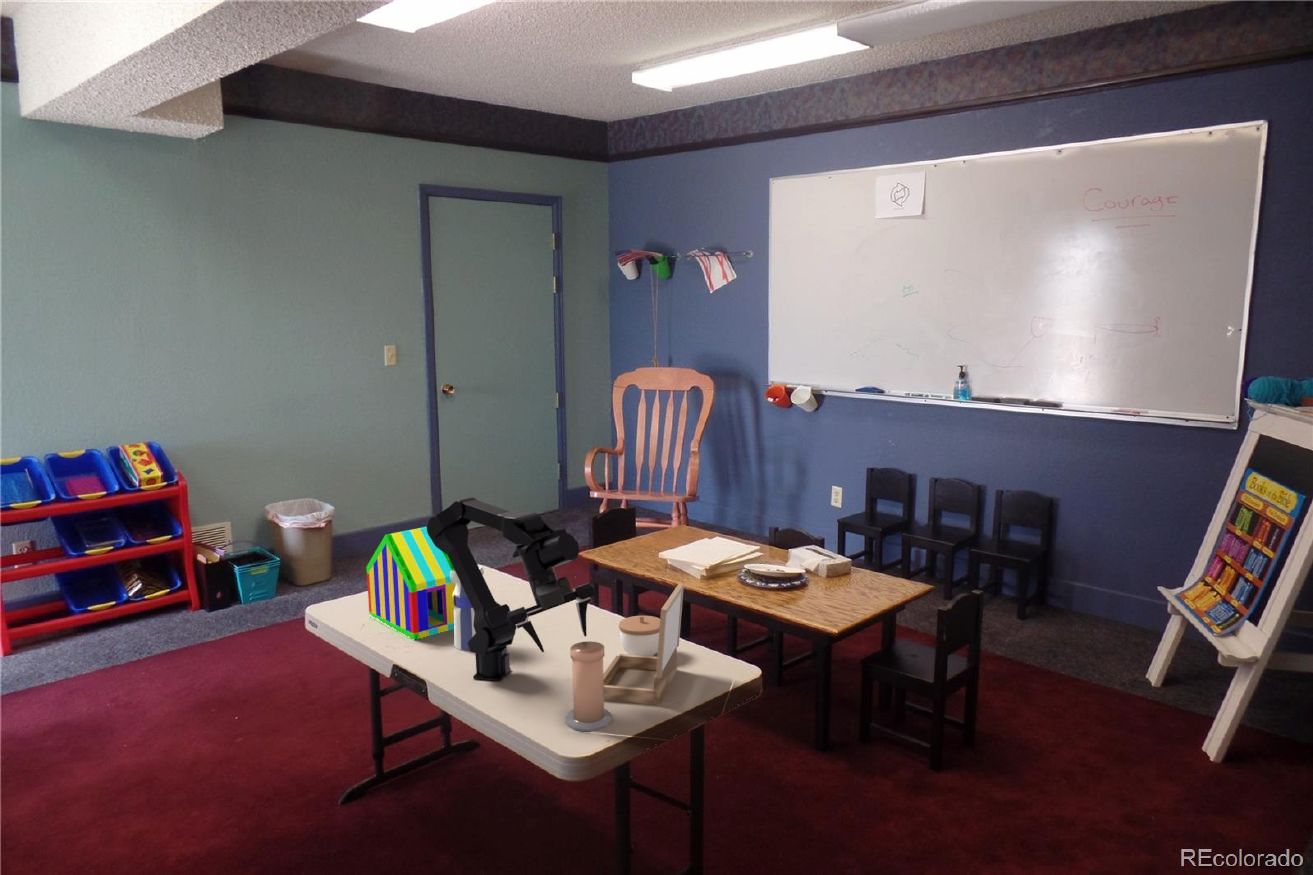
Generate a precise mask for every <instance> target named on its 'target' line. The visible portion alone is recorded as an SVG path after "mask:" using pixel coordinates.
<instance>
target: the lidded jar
mask: <svg viewBox="0 0 1313 875" xmlns="http://www.w3.org/2000/svg"><path fill="white" fill-rule="evenodd" d="M618 629H619V640H620V644H621V646H622V648H623V650H624V652H626V653H627V655H640V656H653V657H655V656H656V654H658V642H659V629H660V618H659V617H656V616H652V615H635V616H629V617H625V618H623V619H621V620H620V621H619V623H618Z"/></svg>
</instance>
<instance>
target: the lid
mask: <svg viewBox="0 0 1313 875" xmlns="http://www.w3.org/2000/svg"><path fill="white" fill-rule="evenodd" d="M684 585H685V584H684V583H681V582H679V583H678V584H677V586H675V588H674V590H673V591H672V593H671V594H670V596H669V597H668V599H667V600H666V602H665V603H664V605H663V606H662V607H661V609H660V629H659V642H658V652H657V656H656V657H657V669H656V678H661V677H662V671H663V669H664V668H665V666H666V664H667V662H668V660H669V659H670V657H671V655H672V653H673V652H674V650H675V648H676V647H677V648H678V647H679V646H680V637H681V624H682V622H681V621H682V611H683V600H684V599H683V598H684V597H683V596H684V588H685V586H684Z"/></svg>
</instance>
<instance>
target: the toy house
mask: <svg viewBox="0 0 1313 875" xmlns="http://www.w3.org/2000/svg"><path fill="white" fill-rule="evenodd" d="M450 571H455V570H454V568H453V566H452V563H451V561H450V559H449V557H448V555H447V554H445V553H444V552H443V551H441V550H440V549H438V548H437V547H436V546H435V545H434V543H433V542H432V540H431V538H430V537H429V535H428V533H427V526H422V527H418V528H413V529H409V530H402V531H398V532H392V533H388V534H385V535H384V537H383V538H382V540H381V542H380V544H379V545H378V547H377V548H376V550H375V551H374V553H373V555H372V557H371V559H370V560H369V562H368V564H367V565H366V582H367V598H368V614H371V615H372V616H373V617H375V618H378V619H379V620H380V621H382V622H383V623H386V624H387V625H389V626H390V627H393V628H394V629H396V630H397V631H399V632H401V633H403V634H405V635H406V636H409V637H410V638H412V639H414V640H413V641H416V640H417V639H418V640H420V639H419V638H421V637H425V636H428V637H432V636H435V635H438V634H437V633H439V634H441V633H440V632H442V633H445V632H444V631H446V632H449V631H452V629H453V630H454V608H455V607H454V606H453V605H452V595H453V592H454V590H455V586H456V583H452V581H451V579H450ZM397 631H396V632H397ZM434 634H435V635H434ZM431 635H432V636H431ZM406 636H405V637H406ZM416 637H417V638H416ZM410 638H409V639H410ZM425 638H426V637H425ZM412 639H411V640H412ZM415 639H416V640H415ZM421 639H422V638H421Z"/></svg>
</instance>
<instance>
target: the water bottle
mask: <svg viewBox="0 0 1313 875" xmlns="http://www.w3.org/2000/svg"><path fill="white" fill-rule="evenodd" d="M477 565H478V567H479V569H480V571H481V573H482V575H483V576H484V573H485V572H484V567H483V565H481V564H478V563H477ZM450 579H451V581H452V583H456V586H455V590H454V592H453V595H452V605H453V606H454V607H455V608H454V629H453V630H454V632H453V634H454V636H453V637H454V638H453V642H454V643H453V645H454V648H455V649H457V650H461V651H470V649H469V646H468V642H469V640H470V639H471V638H472V637H473V636H474V635H475V634H476V632H475V629H474V626H473V625H474V614H475V612H474V609H473V607H472V605H471V603H470V601H469V599H468V597H467V595H466V593H465V591H464V589H463V586H462V584H461V582H460V580H459V578H458V576H457V574H456V572H455V571H450Z"/></svg>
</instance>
